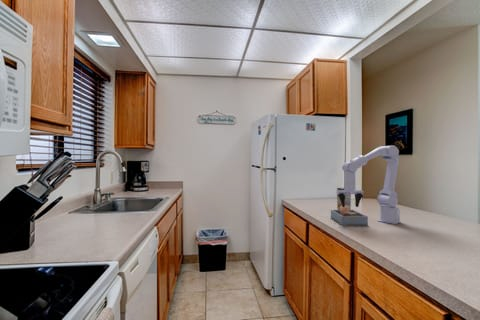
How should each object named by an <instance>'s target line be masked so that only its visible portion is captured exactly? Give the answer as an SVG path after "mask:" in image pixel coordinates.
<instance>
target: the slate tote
mask: <svg viewBox="0 0 480 320" xmlns="http://www.w3.org/2000/svg"><path fill="white" fill-rule="evenodd" d="M349 211H350V212H354V213H357V216H342V215H340V210H337V209H330V218H331V219H332V220H333V221H335V222H336V223H338V224H339V225H340V226H343V227H346V226H347V227H349V226H351V227H352V226H353V227H354V226H355V227H356V226H360V227H362V226H363V227H364V226H367V227H368V226H369V217H368V216H367V215H365V214H363V213H361V212H360V211H357V210H354V209H351V210H349Z"/></svg>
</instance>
